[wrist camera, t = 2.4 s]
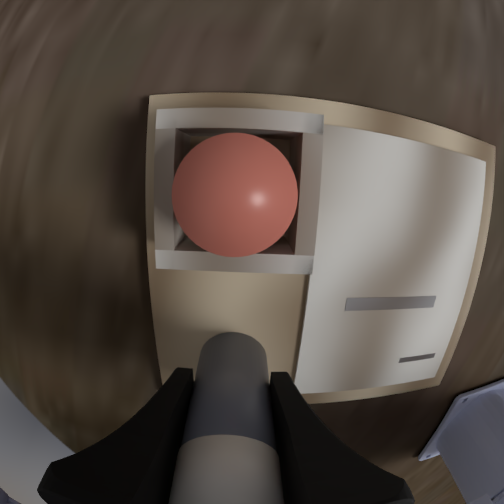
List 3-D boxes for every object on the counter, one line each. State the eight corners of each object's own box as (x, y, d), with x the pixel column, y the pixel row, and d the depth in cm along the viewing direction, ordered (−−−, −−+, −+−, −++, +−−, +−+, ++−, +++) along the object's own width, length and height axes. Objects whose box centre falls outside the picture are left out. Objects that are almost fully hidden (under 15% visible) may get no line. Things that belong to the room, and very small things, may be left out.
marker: (270, 332, 12) (294, 507, 4) (265, 385, 13) (279, 539, 5) (197, 329, 12) (155, 499, 4) (200, 382, 13) (175, 534, 5)
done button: (289, 143, 8) (301, 136, 6) (283, 239, 9) (293, 259, 7) (189, 139, 8) (173, 132, 6) (187, 236, 9) (172, 254, 7)
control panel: (488, 146, 10) (528, 148, 8) (435, 379, 14) (456, 408, 12) (154, 98, 10) (125, 79, 7) (167, 391, 14) (155, 432, 11)
